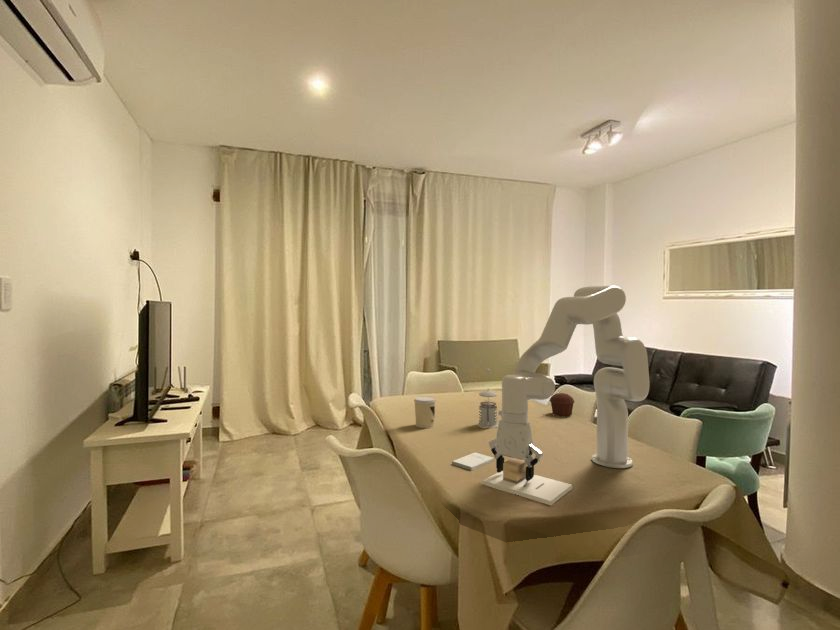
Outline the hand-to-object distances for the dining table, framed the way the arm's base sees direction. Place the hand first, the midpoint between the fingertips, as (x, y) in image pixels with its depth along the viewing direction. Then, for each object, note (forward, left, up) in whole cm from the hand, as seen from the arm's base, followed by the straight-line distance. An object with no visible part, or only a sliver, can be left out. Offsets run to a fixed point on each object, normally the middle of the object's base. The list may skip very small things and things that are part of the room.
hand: (514, 475), depth 130 cm
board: (0, +4, -2) cm, 5 cm away
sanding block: (0, 0, -1) cm, 1 cm away
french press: (-49, -40, -3) cm, 63 cm away
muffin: (-90, -24, -3) cm, 93 cm away
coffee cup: (-31, -61, -3) cm, 68 cm away
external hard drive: (-7, -19, -3) cm, 21 cm away
